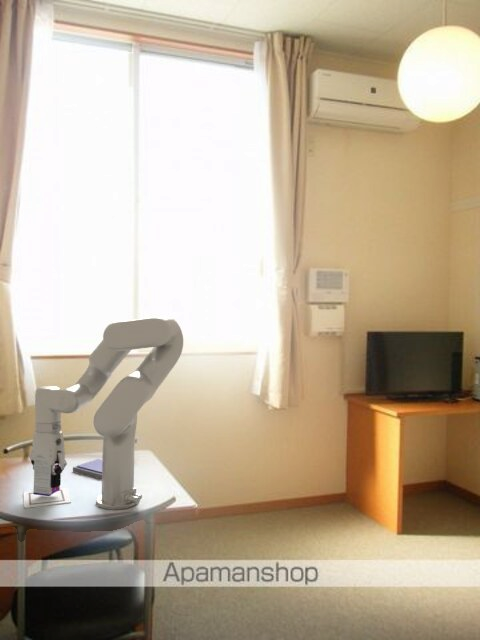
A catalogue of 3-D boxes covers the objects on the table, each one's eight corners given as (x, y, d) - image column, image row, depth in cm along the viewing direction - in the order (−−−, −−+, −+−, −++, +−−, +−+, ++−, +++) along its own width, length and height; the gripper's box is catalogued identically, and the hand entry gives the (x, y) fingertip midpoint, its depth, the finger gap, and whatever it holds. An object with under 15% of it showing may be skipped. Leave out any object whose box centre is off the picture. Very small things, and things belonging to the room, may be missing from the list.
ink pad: (125, 470, 195) (125, 464, 195) (101, 479, 184) (101, 473, 184) (97, 463, 202) (98, 457, 202) (72, 471, 192) (72, 465, 191)
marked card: (70, 502, 163) (70, 501, 163) (24, 508, 157) (24, 506, 157) (66, 488, 175) (66, 487, 174) (23, 493, 169) (23, 491, 169)
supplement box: (50, 496, 162) (50, 458, 162) (32, 494, 164) (33, 457, 163) (60, 490, 168) (61, 453, 168) (43, 488, 169) (44, 452, 169)
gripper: (77, 428, 164) (76, 486, 165) (39, 420, 173) (38, 475, 174) (57, 433, 158) (56, 493, 158) (19, 425, 166) (18, 482, 167)
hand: (47, 483), depth 166 cm, fingers closed on supplement box, 7 cm apart
